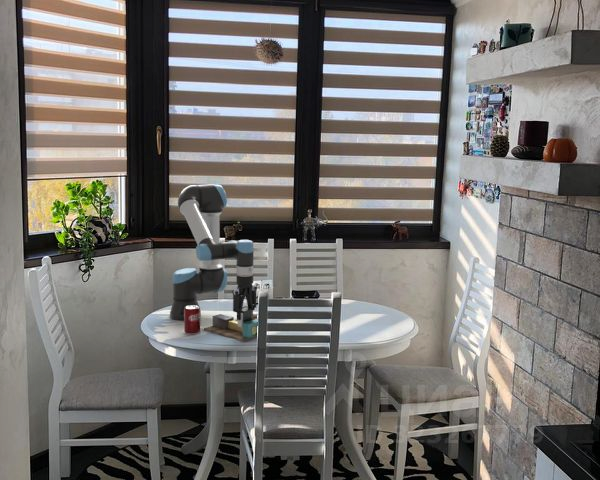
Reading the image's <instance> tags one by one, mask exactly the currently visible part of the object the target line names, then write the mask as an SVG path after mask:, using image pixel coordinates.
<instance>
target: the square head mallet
mask: <svg viewBox="0 0 600 480" xmlns="http://www.w3.org/2000/svg"><path fill="white" fill-rule="evenodd" d="M241 313H243V323H244V322H248V321H251V320H252V309H249V308H242V312H241ZM226 322H227V328H230V329H233V330H237V331H240V332H242V327H239V326H238V320H235V319H234V320H231V319H230V320H226ZM256 333H257V326H255V327H252V334H256Z"/></svg>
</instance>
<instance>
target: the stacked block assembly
mask: <svg viewBox="0 0 600 480" xmlns="http://www.w3.org/2000/svg"><path fill="white" fill-rule="evenodd" d="M234 318H235V317H233V316H230V315H227V314H226V315H225V314H223V313H219V314H216V315H215V314H214V315H212V319H211V320H212V326H213V327H216V328H220V329H223V330H228V329H230V328H227V322H226V320H230V319H231V320H235V319H234ZM255 326H258V319H255V320H251V321H248V322H244V323H242V337H244V338H247V339H249V338H252V337H255V336H257V333H256V334H252V327H255Z"/></svg>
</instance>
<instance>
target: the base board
mask: <svg viewBox="0 0 600 480" xmlns="http://www.w3.org/2000/svg"><path fill="white" fill-rule="evenodd" d="M203 331H204V332H210V333H213V334H216V335H219V336H224V337H226V338H230V339H232V340H233V339H234V340H238V341H240V342H244V343H246V342H248V341H252V340H255V339H258V338H257V336H255V337H252V338H249V339H247V338H244V337H242V332H240V331H237V330H233V329H228V330H223V329H220V328H216V327H213V325H211V326H206V327H203Z"/></svg>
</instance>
